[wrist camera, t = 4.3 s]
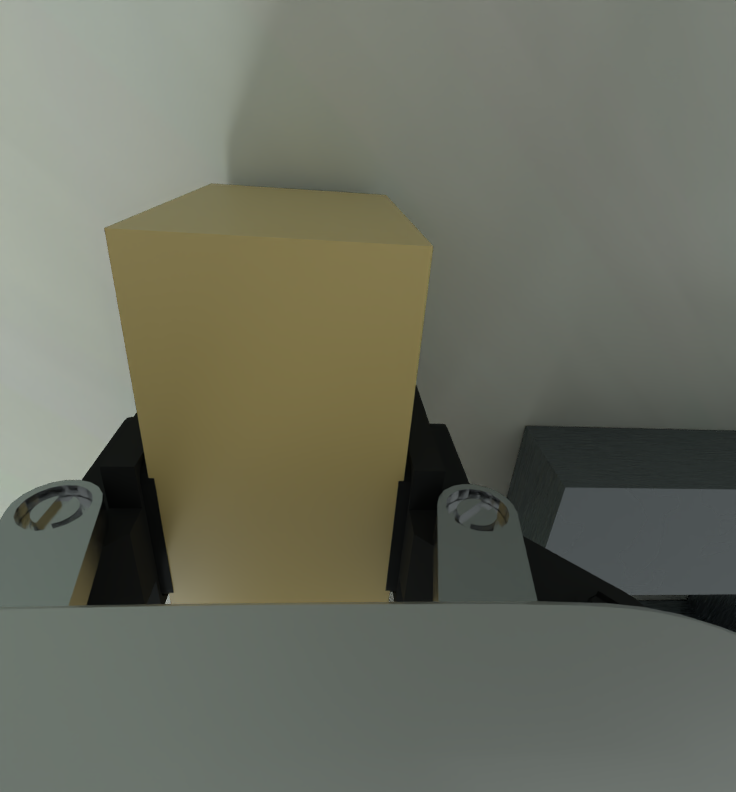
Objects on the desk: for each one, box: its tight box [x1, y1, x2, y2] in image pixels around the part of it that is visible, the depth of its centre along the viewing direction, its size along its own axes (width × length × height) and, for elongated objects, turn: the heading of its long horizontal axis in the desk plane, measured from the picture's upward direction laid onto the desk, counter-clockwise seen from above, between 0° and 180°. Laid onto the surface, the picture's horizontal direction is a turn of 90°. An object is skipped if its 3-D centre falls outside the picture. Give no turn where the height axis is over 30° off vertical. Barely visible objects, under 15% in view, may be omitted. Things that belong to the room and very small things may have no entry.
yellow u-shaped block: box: [104, 184, 433, 604], centre depth 11 cm, size 10×4×6 cm, turn 176°
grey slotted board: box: [507, 426, 736, 632], centre depth 19 cm, size 20×12×3 cm, turn 176°
